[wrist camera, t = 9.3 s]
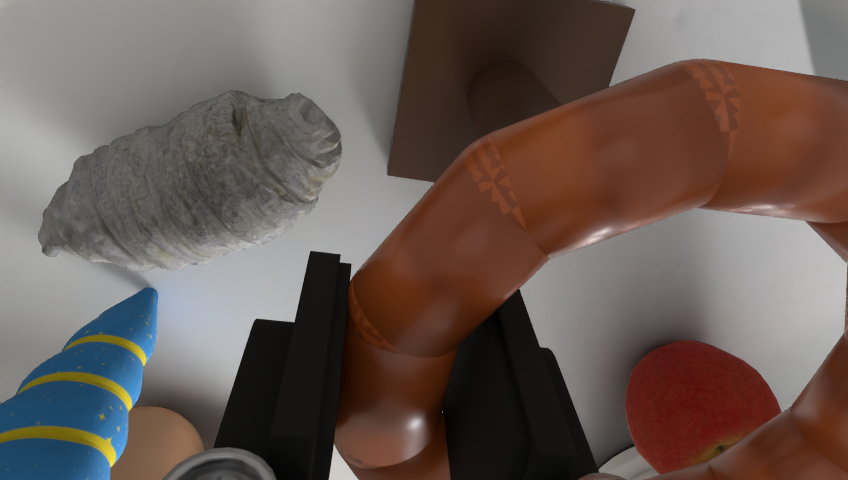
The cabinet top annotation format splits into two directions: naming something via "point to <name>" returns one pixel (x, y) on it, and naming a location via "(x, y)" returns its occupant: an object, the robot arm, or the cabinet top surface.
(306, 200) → the seashell
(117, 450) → the ornament
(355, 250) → the cabinet top surface
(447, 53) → the ring stand
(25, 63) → the cabinet top surface
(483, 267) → the ring
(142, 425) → the egg
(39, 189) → the cabinet top surface
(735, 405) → the apple
